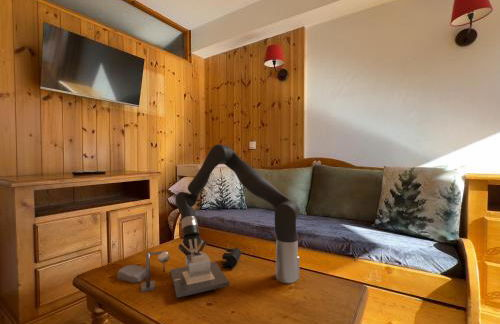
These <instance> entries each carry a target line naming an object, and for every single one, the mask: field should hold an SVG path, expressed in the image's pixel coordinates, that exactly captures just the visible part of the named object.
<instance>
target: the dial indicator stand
mask: <svg viewBox="0 0 500 324" xmlns="http://www.w3.org/2000/svg"><path fill="white" fill-rule="evenodd" d="M154 255H155V256H156V255H158V256H157V258H158V262H159V263H162V264H163V265H162V272H163V273H165V267H166V265H165V263H167V262H168V261H169V260H170V258H171V257H170V256H171V255H170V253H169V252H168V251H166V250H161V251H154V252H153V251H152V252H150V251H146V252H145V267H146V278H145V282H140V283H141V284H140V287H141V288H140V289H141V291H140V292H141V293H145V292H149V291H150V292H151V291H156V284H155V283H156V282H155V280H151V256H154Z"/></svg>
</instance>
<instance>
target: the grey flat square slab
mask: <svg viewBox="0 0 500 324" xmlns="http://www.w3.org/2000/svg"><path fill="white" fill-rule="evenodd" d="M169 274H170V278H171V281H172V285H173V288H174V292H175V296H176V298H177V299H178V298H182V297H184V296H185V297H187V296H186V295H189V296H192V295H191V294H194V295H196V294H195V293H198V294H200V293H199V292H202V293H205V292H204V291H206V292H209V291H208V290H211V291H213V290H212V289H215V290H218V289H217V288H219V289H221V288H225V287H229V286H230V280H229V279H228V278H227V277H226V275H225V273H224V272H223V271H222V269H221V268H220V266H219V265H218V264H217V262H216V261H210V277H206V278H201V279H196V280H192V281H189V279H188V276H187V274H186V266H183V267H177V268H171V269H169Z"/></svg>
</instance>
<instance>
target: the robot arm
mask: <svg viewBox="0 0 500 324" xmlns="http://www.w3.org/2000/svg"><path fill="white" fill-rule="evenodd" d="M220 164H221V165H222V164H224V165H225V166H226V167H228V168H229V169H230V170H231V171H232V172H233V173H234V174H235V176H236V178H237V180H238V181H239V183H240V184H241V185H242V186H243V187H244V188H245V189H246V190H247V191H248V192H250V193H251V194H252V195H254V196H255V197H257V198H259V199H261V200H263V201H265V202H267V203H269V204H270V205H271V206H272V207H273V208H275V210H274V232H275V236H276V237H275V238H276V239H275V240H276V241H275V242H276V243H275V245H276V246H275V251H276V252H275V279H276V280H277V281H278V282H281V283H283V284H293V283H296V282H297V281H298V280H300V256H299V255H298V253H299V251H298V250H299V247H298V246H299V245H298V244H299V243H298V242H299V235H298V232H297V219H299V217H300V214H301V209H300V207H299V205H298V204H297V203H296V202H295V201H294V200H292V199H291V198H289V197H288V196H286V195H285V194H283V193H282V192H281V191H279V190H278V189H277V188H276V187H275V186H274V185H273V184H271V182H270V181H268V180H267V179H266V178H265V177H264V176H263V175H262V174H260V173H259V171H257V170H256V169H254V168H253V167H252V166H251V165H249V164H248V163H247V162H245V161H244V160H243V159H242V158H241V157H240V156H239V155H238V154H237V153H236V152H235V151H234V150H233V149H232V148H231V147H230V146H229V145H226V144H225V145H223V144H219V143H218V144H215V145H213V146H212V147H211V148H210V150H209V151H208V154H207V156H206V158H205V159H204V162H203V163H202V165H201V167H200V169H199V170H198V172H197V174H196V175H195V176H194V177H193V178H192V180H191V181H190V182H189V184H188V185H187V191H188V192H186V191H180V192H178V193H177V194H176V195H175V205H176V208H177V209H178V211H179V213H180V220H181V230H182V231H181V232H182V242H181V243H180V244H178V249H179V251H180V252H182V253H183V254H184V255H185V256H186V255H191V253H194V252H200V251H202V252H203V250H204V248H205V247H206V244H207V241H206V240H203V239H202V238H201V235H200V230H199V223H198V220H197V215H196V211H195V209H194V208H193V207H194V206H195V205H196V204H197V201H198V198H199V196H200V194H201V193H202V191H203V189H204V188H205V187H206V186H207V185H208V182H209V181H210V176H211V174H212V172H213V171H214V169H215V168H216V167H218V166H219V165H220ZM199 246H200V247H199ZM198 248H199V249H198Z"/></svg>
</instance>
